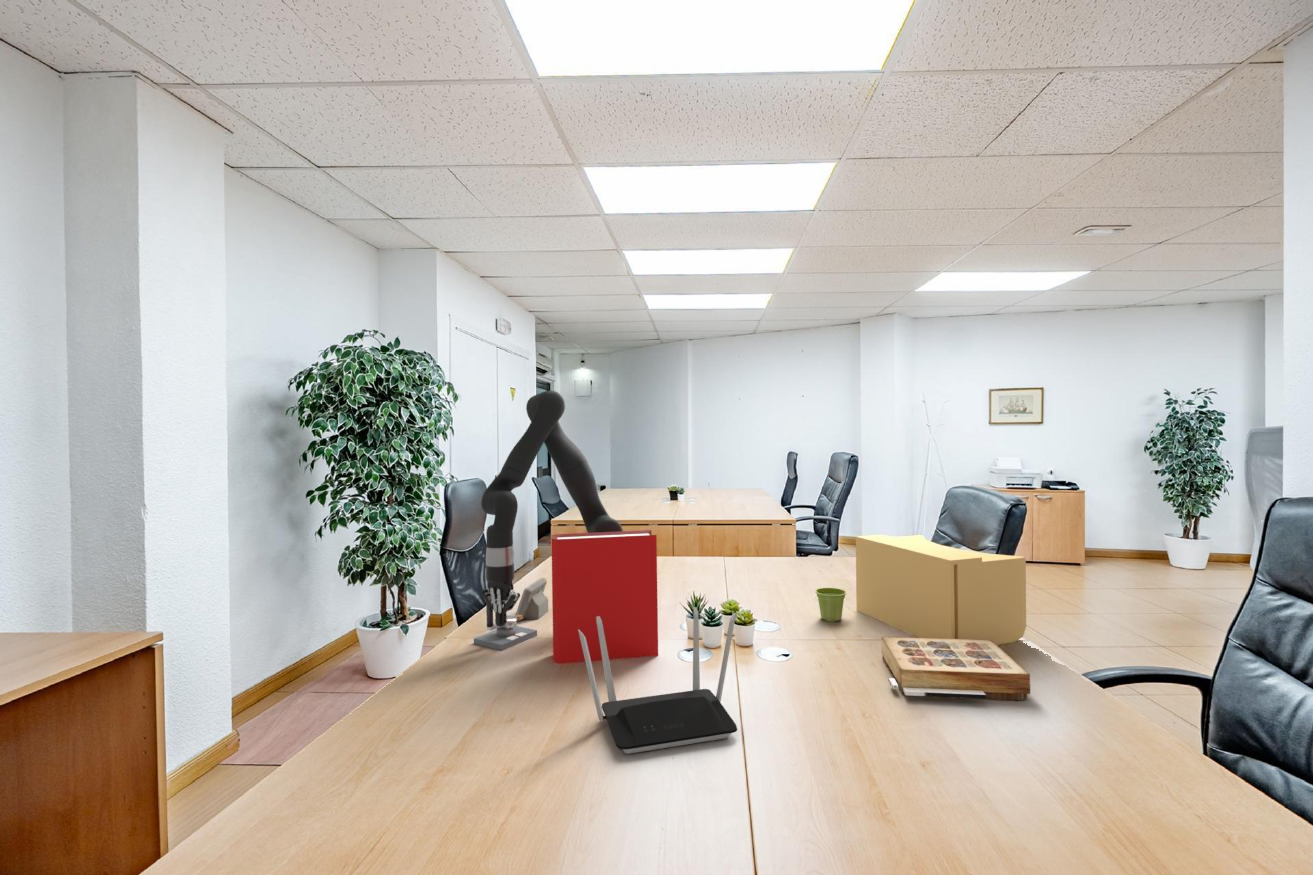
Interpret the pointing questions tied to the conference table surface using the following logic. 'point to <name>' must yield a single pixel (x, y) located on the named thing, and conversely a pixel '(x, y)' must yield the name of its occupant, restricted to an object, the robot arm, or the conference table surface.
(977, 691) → the flat wooden box
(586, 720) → the conference table surface
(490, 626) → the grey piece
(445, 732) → the conference table surface
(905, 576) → the cardboard box
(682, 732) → the wireless router
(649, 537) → the book
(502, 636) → the stand
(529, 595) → the digital clock
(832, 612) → the plant pot
